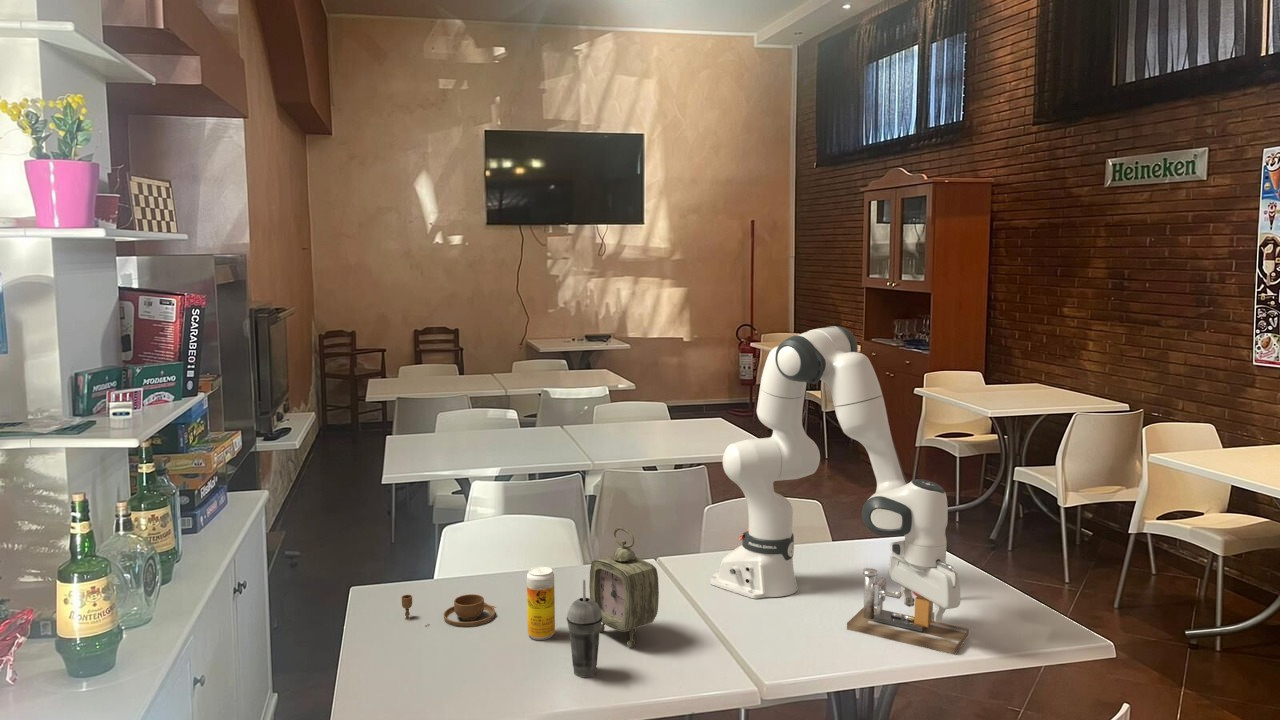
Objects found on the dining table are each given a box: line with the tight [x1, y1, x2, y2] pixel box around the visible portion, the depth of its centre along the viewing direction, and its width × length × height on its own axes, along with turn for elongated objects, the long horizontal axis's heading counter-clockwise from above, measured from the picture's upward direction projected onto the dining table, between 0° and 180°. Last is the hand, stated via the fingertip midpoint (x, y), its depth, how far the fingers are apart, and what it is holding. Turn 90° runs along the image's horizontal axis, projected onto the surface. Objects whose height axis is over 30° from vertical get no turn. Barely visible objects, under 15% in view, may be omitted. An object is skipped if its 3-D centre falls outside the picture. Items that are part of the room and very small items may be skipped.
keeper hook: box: [862, 567, 903, 619], centre depth 206 cm, size 9×3×11 cm, turn 56°
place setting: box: [401, 593, 497, 628], centre depth 213 cm, size 18×20×6 cm
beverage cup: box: [566, 579, 602, 678], centre depth 183 cm, size 7×7×20 cm
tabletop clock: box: [589, 526, 660, 648], centre depth 200 cm, size 14×9×25 cm, turn 40°
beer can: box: [526, 566, 556, 641], centre depth 201 cm, size 6×6×15 cm
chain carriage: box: [874, 577, 934, 632], centre depth 203 cm, size 12×5×9 cm, turn 57°
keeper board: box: [846, 606, 970, 655], centre depth 203 cm, size 24×12×2 cm, turn 57°
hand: (922, 613), depth 201 cm, fingers open, 8 cm apart
